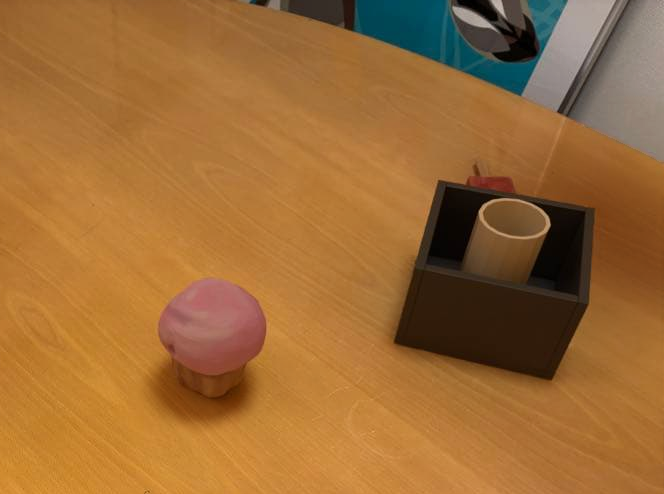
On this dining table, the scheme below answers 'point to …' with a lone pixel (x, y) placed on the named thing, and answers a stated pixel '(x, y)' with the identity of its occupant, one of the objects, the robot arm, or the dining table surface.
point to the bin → (498, 288)
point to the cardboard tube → (506, 240)
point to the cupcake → (212, 334)
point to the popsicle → (490, 179)
